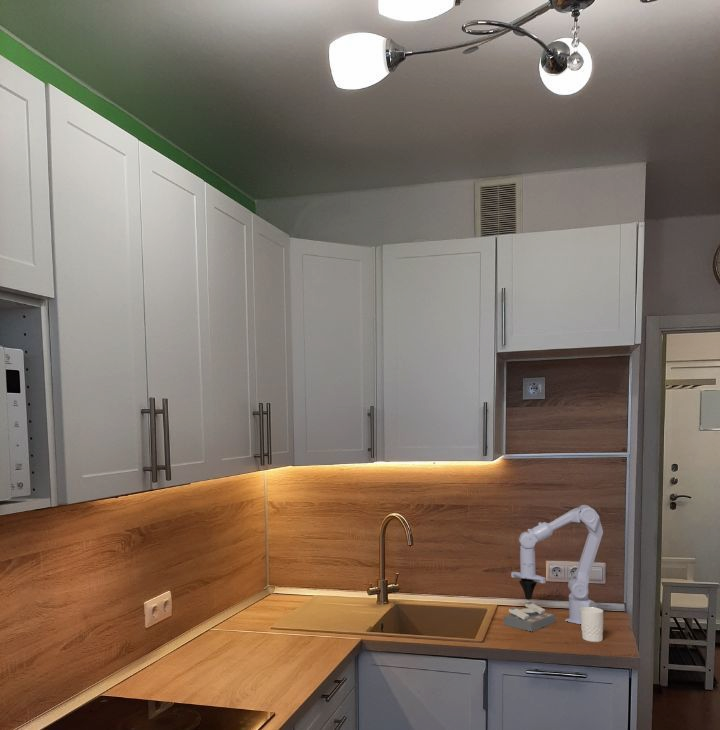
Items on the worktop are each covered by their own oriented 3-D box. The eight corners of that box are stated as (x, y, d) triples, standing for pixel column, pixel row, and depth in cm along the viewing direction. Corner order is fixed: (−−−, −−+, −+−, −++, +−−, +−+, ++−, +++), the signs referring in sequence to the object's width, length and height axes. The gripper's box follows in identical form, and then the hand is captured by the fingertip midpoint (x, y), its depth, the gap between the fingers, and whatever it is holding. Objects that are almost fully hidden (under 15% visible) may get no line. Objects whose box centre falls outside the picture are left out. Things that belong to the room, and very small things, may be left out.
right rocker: (545, 612, 251) (546, 609, 251) (540, 614, 248) (540, 611, 248) (530, 604, 256) (530, 601, 256) (524, 606, 253) (525, 603, 253)
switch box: (555, 623, 248) (554, 613, 249) (531, 632, 237) (531, 621, 238) (528, 616, 257) (527, 606, 257) (504, 624, 246) (503, 614, 247)
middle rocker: (537, 610, 247) (537, 607, 248) (532, 612, 245) (531, 608, 245) (522, 611, 252) (521, 608, 252) (517, 613, 249) (516, 609, 250)
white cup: (576, 639, 230) (575, 609, 231) (587, 634, 235) (586, 605, 236) (598, 644, 224) (596, 614, 225) (608, 639, 229) (607, 609, 230)
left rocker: (529, 618, 243) (530, 614, 243) (523, 620, 241) (524, 616, 241) (513, 609, 249) (514, 606, 249) (508, 611, 246) (508, 608, 246)
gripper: (506, 562, 259) (507, 597, 257) (538, 567, 248) (539, 604, 246) (516, 559, 263) (517, 594, 262) (548, 565, 253) (549, 601, 251)
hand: (528, 599), depth 254 cm, fingers closed
